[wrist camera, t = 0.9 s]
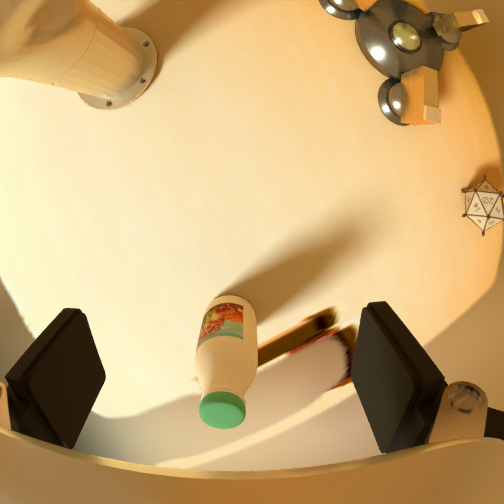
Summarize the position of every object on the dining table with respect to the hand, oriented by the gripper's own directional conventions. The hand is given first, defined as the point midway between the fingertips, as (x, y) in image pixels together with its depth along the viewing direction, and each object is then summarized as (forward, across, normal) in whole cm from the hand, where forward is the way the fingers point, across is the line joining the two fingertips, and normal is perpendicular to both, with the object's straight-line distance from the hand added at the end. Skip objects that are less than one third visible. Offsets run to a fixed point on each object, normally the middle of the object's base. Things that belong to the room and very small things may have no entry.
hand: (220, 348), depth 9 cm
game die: (+32, -38, 0) cm, 49 cm away
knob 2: (+32, -33, -28) cm, 54 cm away
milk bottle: (+32, +2, +18) cm, 37 cm away
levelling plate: (+32, -22, -25) cm, 46 cm away
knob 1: (+32, -23, -14) cm, 42 cm away
